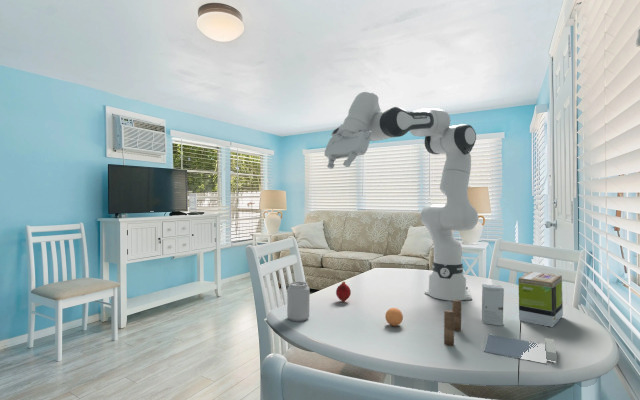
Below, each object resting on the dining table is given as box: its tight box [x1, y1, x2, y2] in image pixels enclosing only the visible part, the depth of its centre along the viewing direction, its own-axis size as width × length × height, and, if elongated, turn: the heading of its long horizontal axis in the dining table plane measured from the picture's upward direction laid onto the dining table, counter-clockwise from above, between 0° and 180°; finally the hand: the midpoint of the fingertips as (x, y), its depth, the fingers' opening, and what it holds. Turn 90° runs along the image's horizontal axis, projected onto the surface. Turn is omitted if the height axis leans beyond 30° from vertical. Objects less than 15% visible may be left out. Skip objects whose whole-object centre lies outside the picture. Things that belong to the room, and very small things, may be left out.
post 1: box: [443, 309, 455, 347], centre depth 98 cm, size 3×3×9 cm
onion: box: [335, 280, 352, 303], centre depth 139 cm, size 6×6×8 cm
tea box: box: [518, 271, 564, 328], centre depth 120 cm, size 15×10×15 cm, turn 134°
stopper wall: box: [544, 337, 557, 362], centre depth 91 cm, size 10×2×2 cm, turn 149°
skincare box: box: [481, 283, 505, 327], centre depth 115 cm, size 6×4×12 cm
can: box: [286, 281, 311, 322], centre depth 119 cm, size 8×8×12 cm
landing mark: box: [483, 333, 538, 359], centre depth 95 cm, size 14×14×1 cm
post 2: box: [451, 300, 462, 332], centre depth 109 cm, size 3×3×9 cm
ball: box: [385, 307, 404, 327], centre depth 112 cm, size 6×6×6 cm
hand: (337, 167), depth 119 cm, fingers open, 8 cm apart
